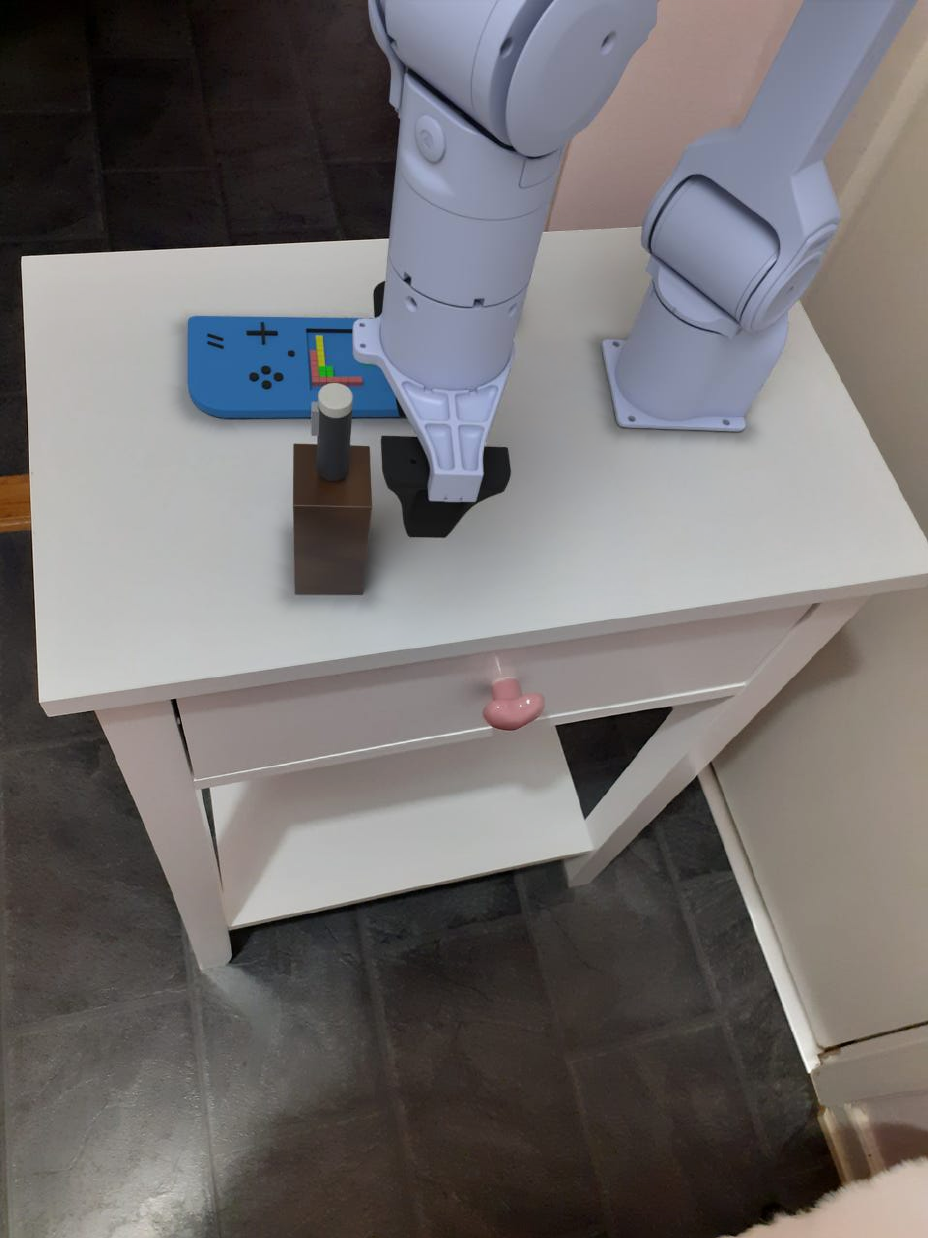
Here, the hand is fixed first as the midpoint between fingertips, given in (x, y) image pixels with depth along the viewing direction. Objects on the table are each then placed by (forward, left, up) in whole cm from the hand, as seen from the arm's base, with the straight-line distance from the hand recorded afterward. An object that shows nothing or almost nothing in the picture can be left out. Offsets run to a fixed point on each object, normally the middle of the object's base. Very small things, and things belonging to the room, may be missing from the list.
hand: (422, 470), depth 48 cm
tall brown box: (+5, 0, -10) cm, 11 cm away
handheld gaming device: (+6, -15, -10) cm, 19 cm away
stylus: (+5, 0, -1) cm, 5 cm away
